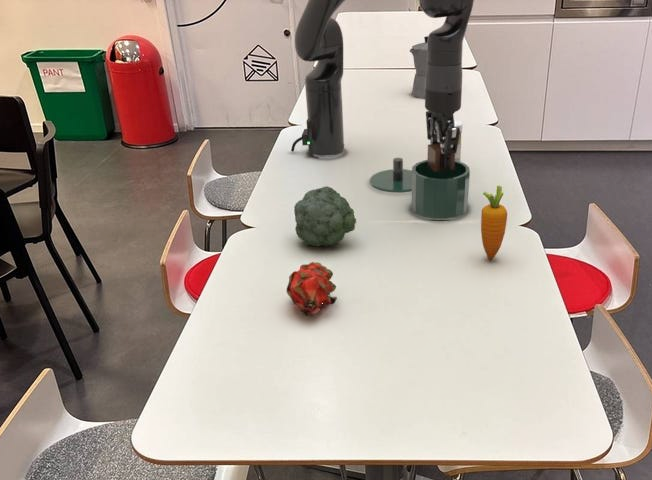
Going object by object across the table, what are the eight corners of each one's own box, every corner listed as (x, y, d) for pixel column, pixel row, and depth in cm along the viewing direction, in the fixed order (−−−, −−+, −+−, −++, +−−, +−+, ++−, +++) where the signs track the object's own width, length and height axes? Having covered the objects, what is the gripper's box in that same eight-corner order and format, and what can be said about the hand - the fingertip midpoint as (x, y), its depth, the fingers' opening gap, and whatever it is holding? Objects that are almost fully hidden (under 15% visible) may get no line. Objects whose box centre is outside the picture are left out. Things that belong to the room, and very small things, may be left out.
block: (434, 172, 152) (435, 151, 149) (427, 165, 156) (427, 144, 153) (454, 169, 153) (455, 148, 151) (446, 162, 157) (447, 142, 154)
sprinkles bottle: (455, 171, 179) (457, 118, 171) (462, 178, 175) (465, 123, 167) (438, 174, 177) (440, 120, 169) (446, 180, 174) (448, 126, 166)
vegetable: (376, 221, 150) (353, 218, 136) (335, 261, 155) (309, 262, 140) (340, 178, 151) (313, 171, 137) (300, 220, 155) (270, 217, 141)
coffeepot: (418, 101, 229) (419, 41, 218) (401, 94, 235) (401, 36, 224) (454, 93, 236) (457, 35, 225) (437, 87, 242) (438, 30, 232)
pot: (410, 220, 156) (411, 179, 150) (412, 197, 166) (412, 158, 160) (468, 221, 155) (470, 180, 149) (465, 198, 165) (468, 158, 159)
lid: (368, 194, 168) (367, 169, 164) (372, 173, 179) (371, 149, 175) (425, 194, 167) (426, 170, 163) (425, 173, 178) (426, 149, 174)
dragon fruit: (319, 294, 133) (316, 337, 125) (280, 274, 130) (274, 316, 121) (344, 264, 128) (343, 307, 120) (304, 242, 125) (299, 284, 116)
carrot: (487, 267, 138) (493, 195, 129) (473, 257, 141) (477, 186, 132) (508, 261, 139) (515, 189, 131) (493, 251, 143) (499, 181, 134)
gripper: (414, 78, 149) (413, 157, 159) (439, 96, 138) (436, 180, 148) (447, 75, 151) (444, 153, 161) (474, 92, 140) (469, 175, 150)
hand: (440, 165), depth 154 cm, fingers closed on block, 4 cm apart
